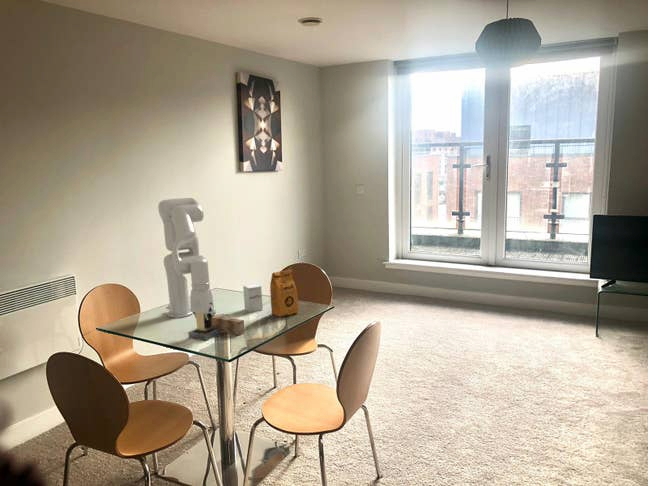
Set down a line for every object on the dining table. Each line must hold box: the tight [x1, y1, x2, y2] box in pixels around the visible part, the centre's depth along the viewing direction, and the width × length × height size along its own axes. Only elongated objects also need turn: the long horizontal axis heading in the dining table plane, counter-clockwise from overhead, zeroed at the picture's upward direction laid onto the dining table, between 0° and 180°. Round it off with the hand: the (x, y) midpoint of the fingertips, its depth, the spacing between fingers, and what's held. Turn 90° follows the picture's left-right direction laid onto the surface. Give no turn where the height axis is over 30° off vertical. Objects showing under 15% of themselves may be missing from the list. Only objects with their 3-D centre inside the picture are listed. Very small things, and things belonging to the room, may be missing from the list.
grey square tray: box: [187, 327, 222, 342], centre depth 234 cm, size 10×10×2 cm
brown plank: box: [211, 314, 246, 336], centre depth 240 cm, size 24×3×6 cm, turn 58°
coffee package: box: [269, 269, 299, 317], centre depth 259 cm, size 10×12×22 cm
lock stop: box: [195, 313, 212, 332], centre depth 233 cm, size 4×4×9 cm
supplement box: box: [243, 283, 264, 313], centre depth 271 cm, size 7×7×13 cm
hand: (204, 326), depth 234 cm, fingers closed on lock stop, 4 cm apart
